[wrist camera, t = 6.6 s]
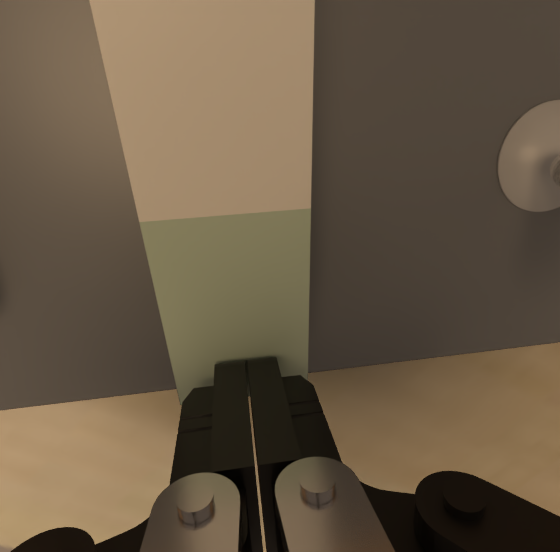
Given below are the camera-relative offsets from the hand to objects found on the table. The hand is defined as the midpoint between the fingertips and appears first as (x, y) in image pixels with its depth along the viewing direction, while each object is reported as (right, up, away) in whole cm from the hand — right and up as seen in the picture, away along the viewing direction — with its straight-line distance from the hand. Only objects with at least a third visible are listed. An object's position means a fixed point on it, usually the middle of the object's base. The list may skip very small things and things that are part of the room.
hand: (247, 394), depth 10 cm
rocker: (0, +5, -2) cm, 5 cm away
